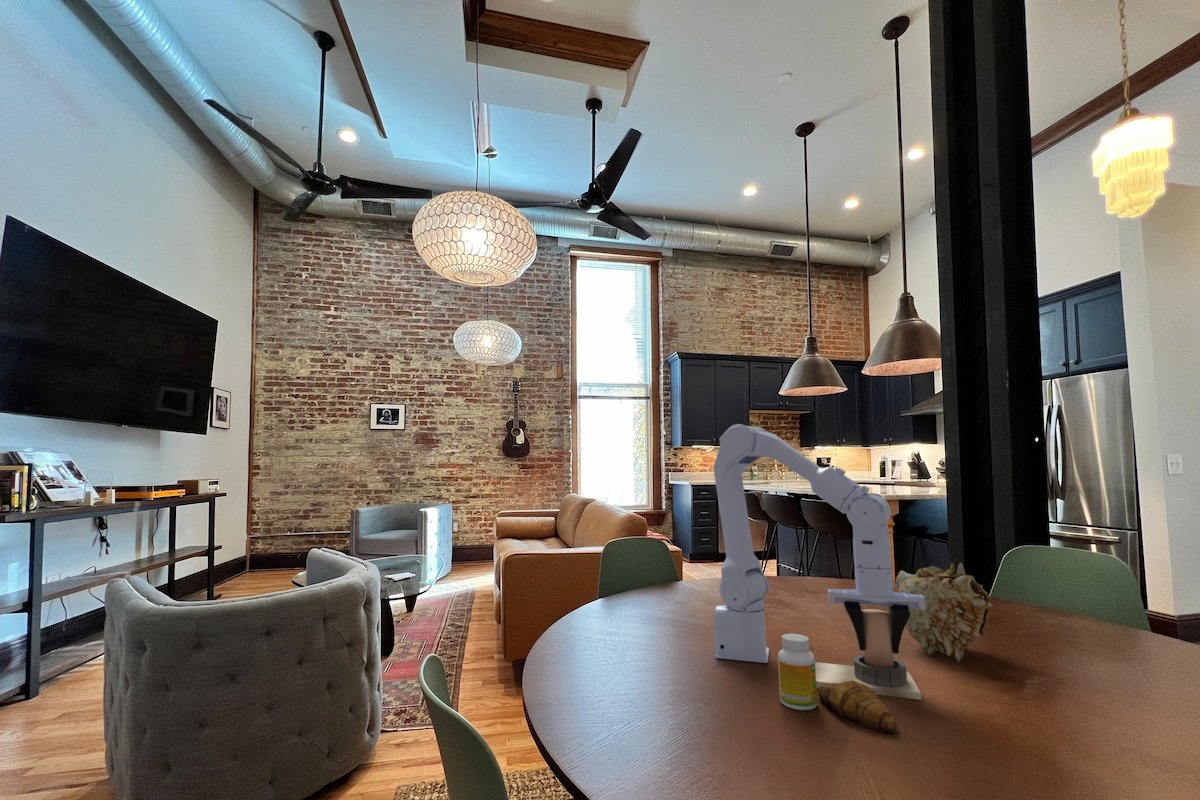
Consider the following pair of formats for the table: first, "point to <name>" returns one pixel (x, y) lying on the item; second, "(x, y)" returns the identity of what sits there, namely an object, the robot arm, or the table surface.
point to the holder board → (848, 675)
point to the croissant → (858, 704)
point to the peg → (877, 638)
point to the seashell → (946, 609)
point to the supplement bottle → (797, 673)
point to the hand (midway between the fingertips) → (878, 650)
